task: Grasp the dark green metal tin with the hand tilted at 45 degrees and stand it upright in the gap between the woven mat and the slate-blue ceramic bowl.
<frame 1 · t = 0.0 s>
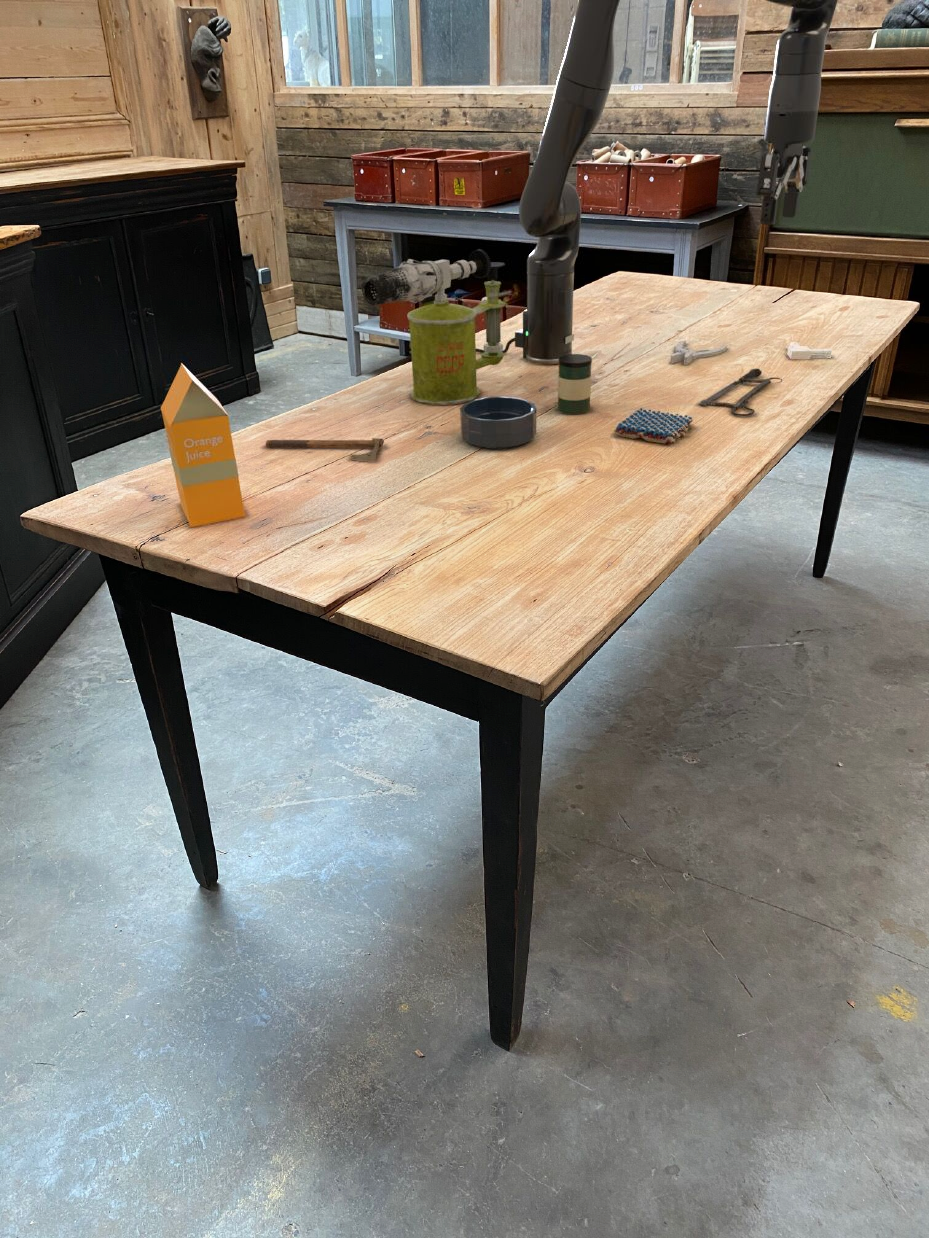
hand: (778, 220, 153), 29 cm above the table, tool pointing down, fingers open, 8 cm apart
tomahawk: (331, 449, 153), on the table
orange juice: (212, 511, 133), on the table
corner connector: (807, 354, 190), on the table
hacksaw: (750, 396, 169), on the table
blowtorch: (445, 395, 176), on the table
slate bowl: (498, 437, 155), on the table
pliers: (691, 356, 192), on the table
green tin: (573, 409, 166), on the table
woven mat: (654, 433, 154), on the table
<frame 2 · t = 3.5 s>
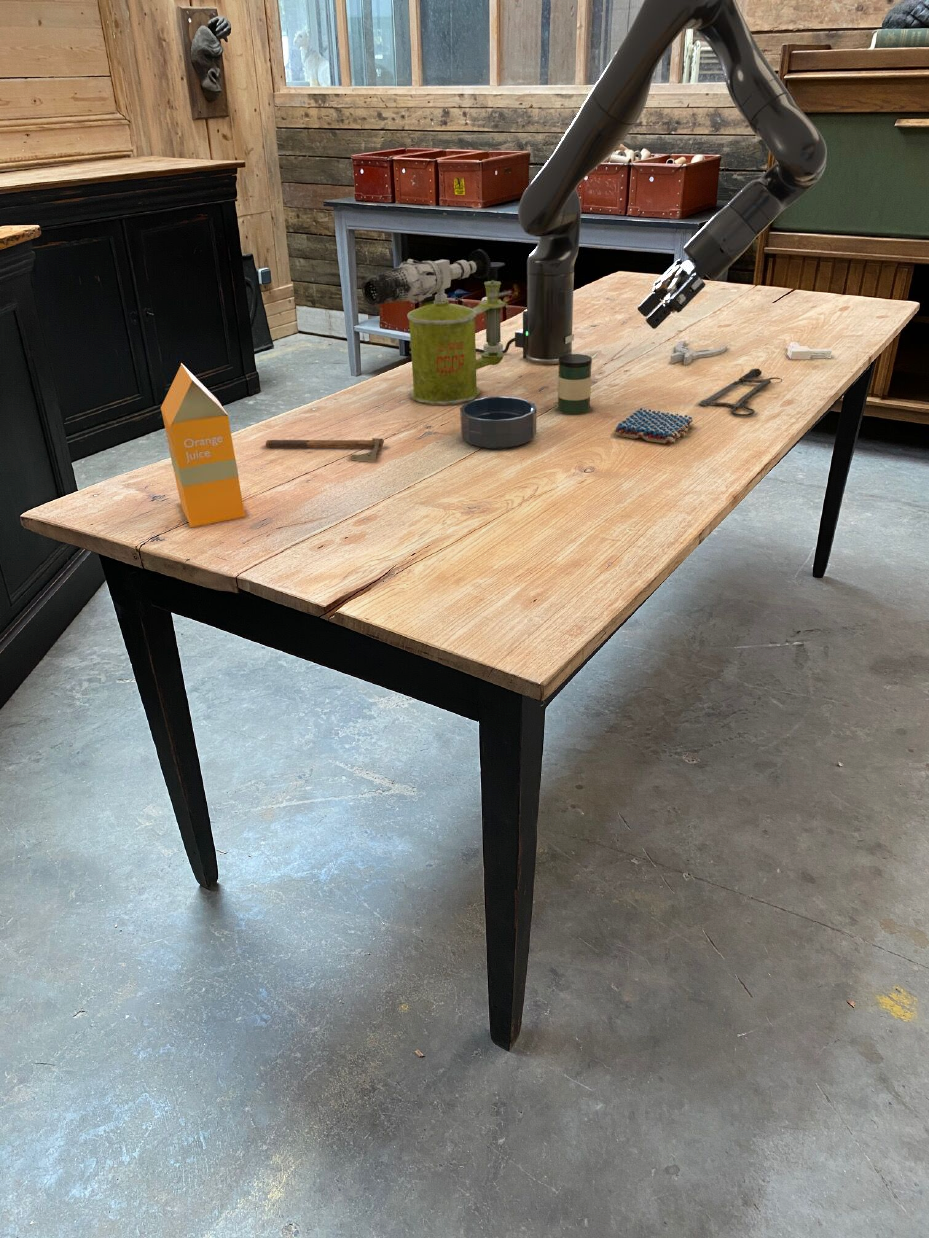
hand: (645, 319, 158), 15 cm above the table, tool tilted 45°, fingers open, 8 cm apart
nothing on the table moved.
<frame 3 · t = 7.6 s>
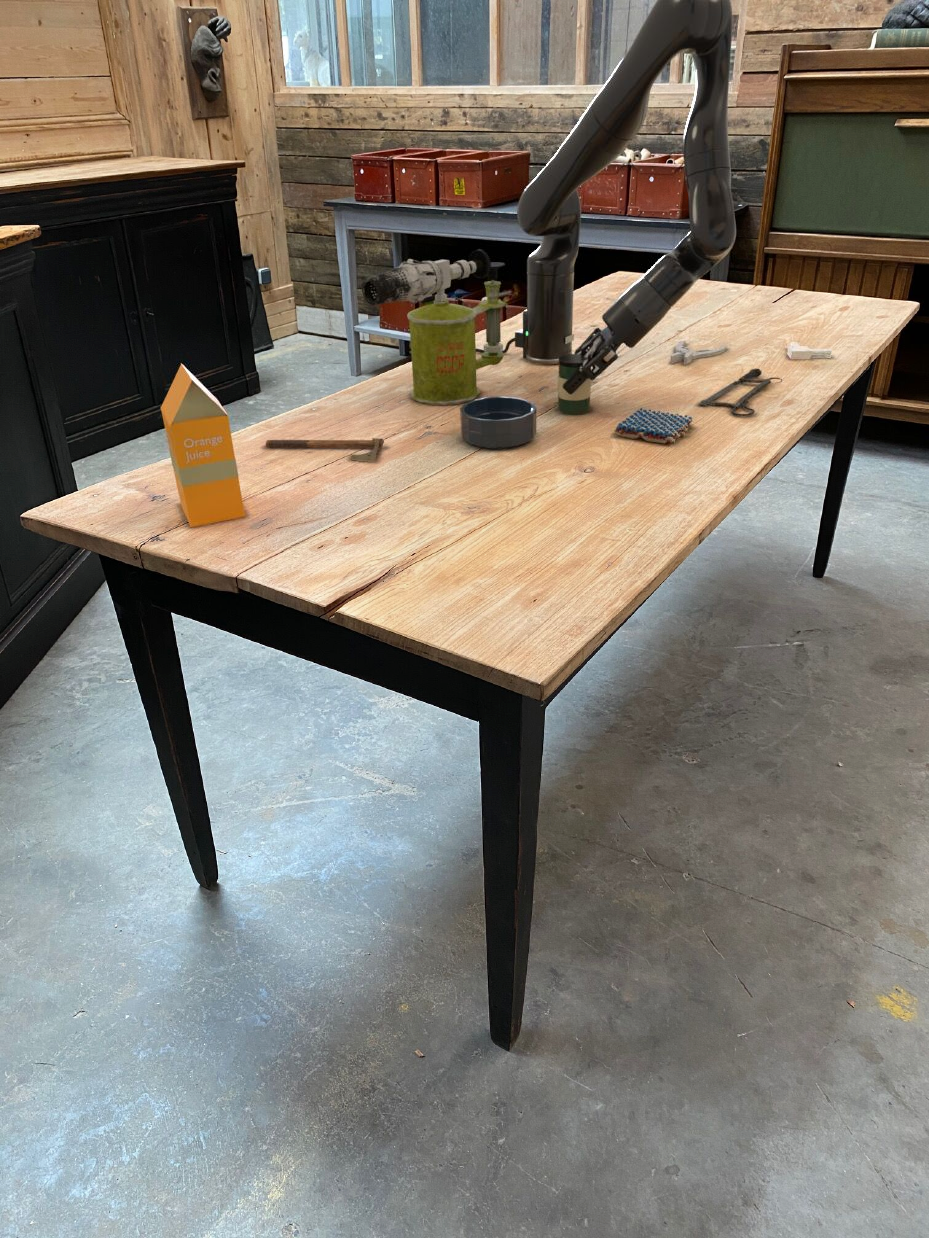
hand: (564, 385, 163), 4 cm above the table, tool tilted 45°, fingers closed on green tin, 5 cm apart
green tin: (573, 409, 166), on the table, touching gripper
everything else where it was.
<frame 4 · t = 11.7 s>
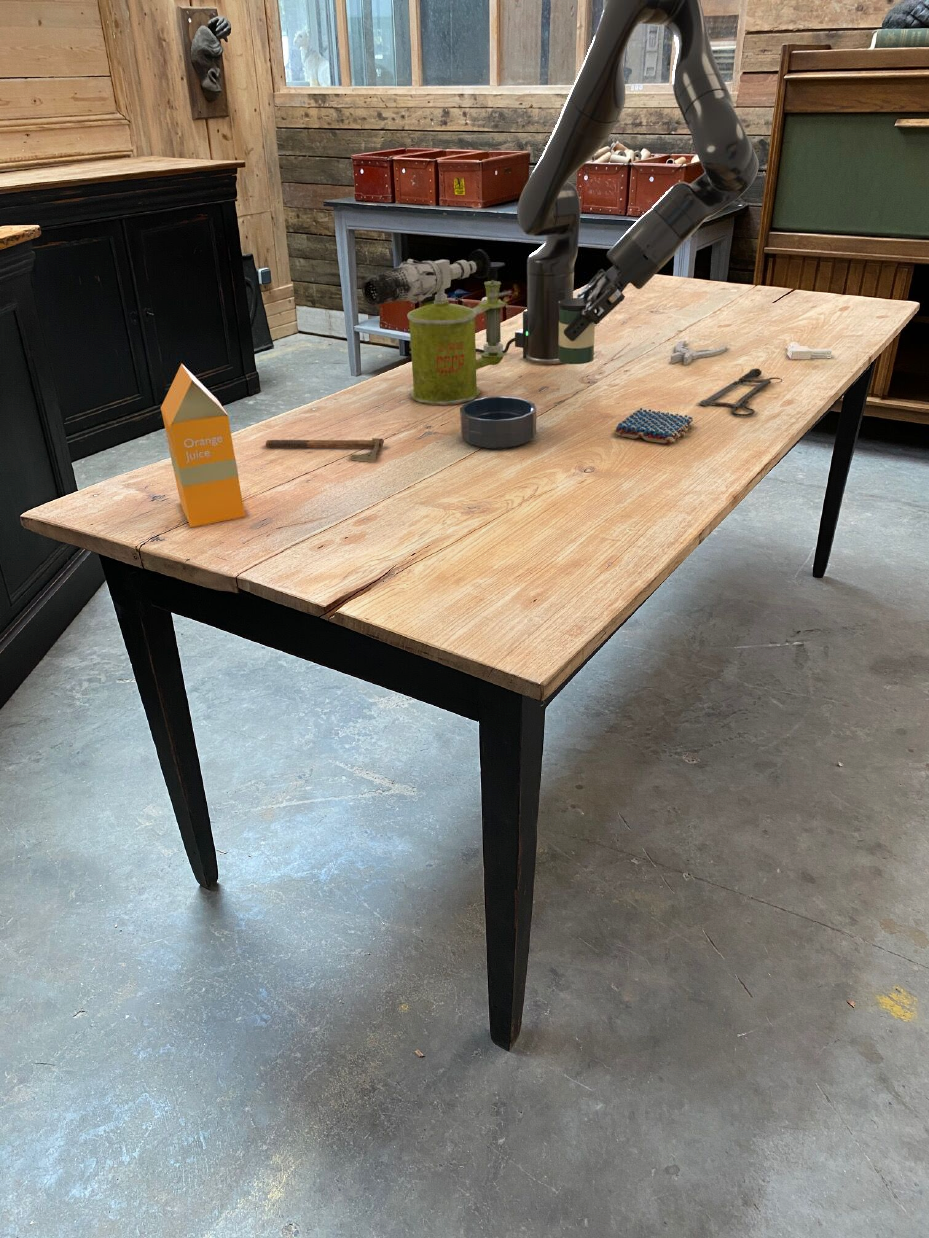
hand: (565, 331, 149), 16 cm above the table, tool tilted 45°, fingers closed on green tin, 5 cm apart
green tin: (576, 359, 151), point 12 cm above the table, touching gripper
everything else where it was.
when the fingers open (4 cm above the table, at t = 15.7 s): green tin stays where it is, on the table.
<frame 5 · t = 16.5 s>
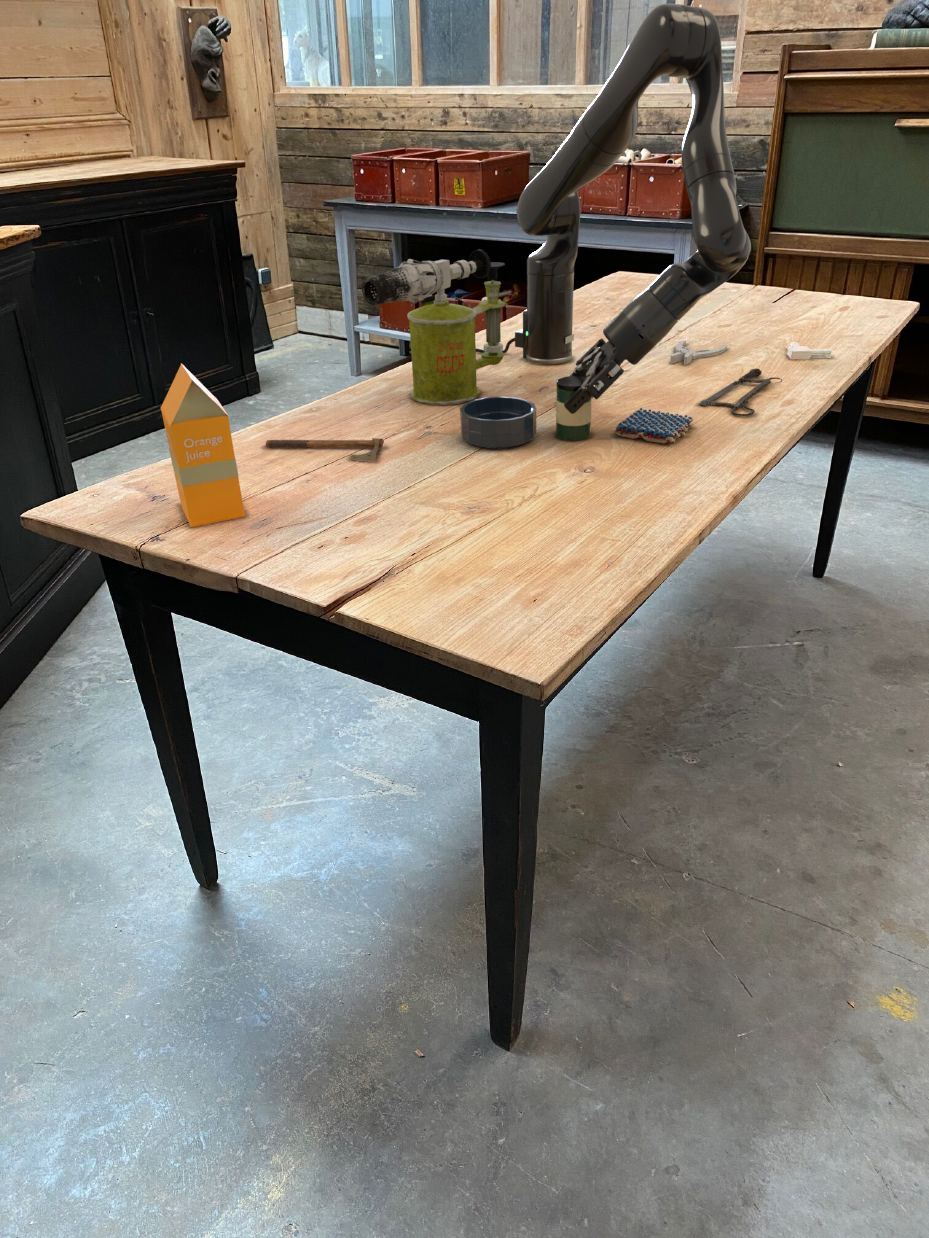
hand: (565, 401, 152), 6 cm above the table, tool tilted 45°, fingers open, 8 cm apart
green tin: (573, 435, 154), on the table
everything else where it was.
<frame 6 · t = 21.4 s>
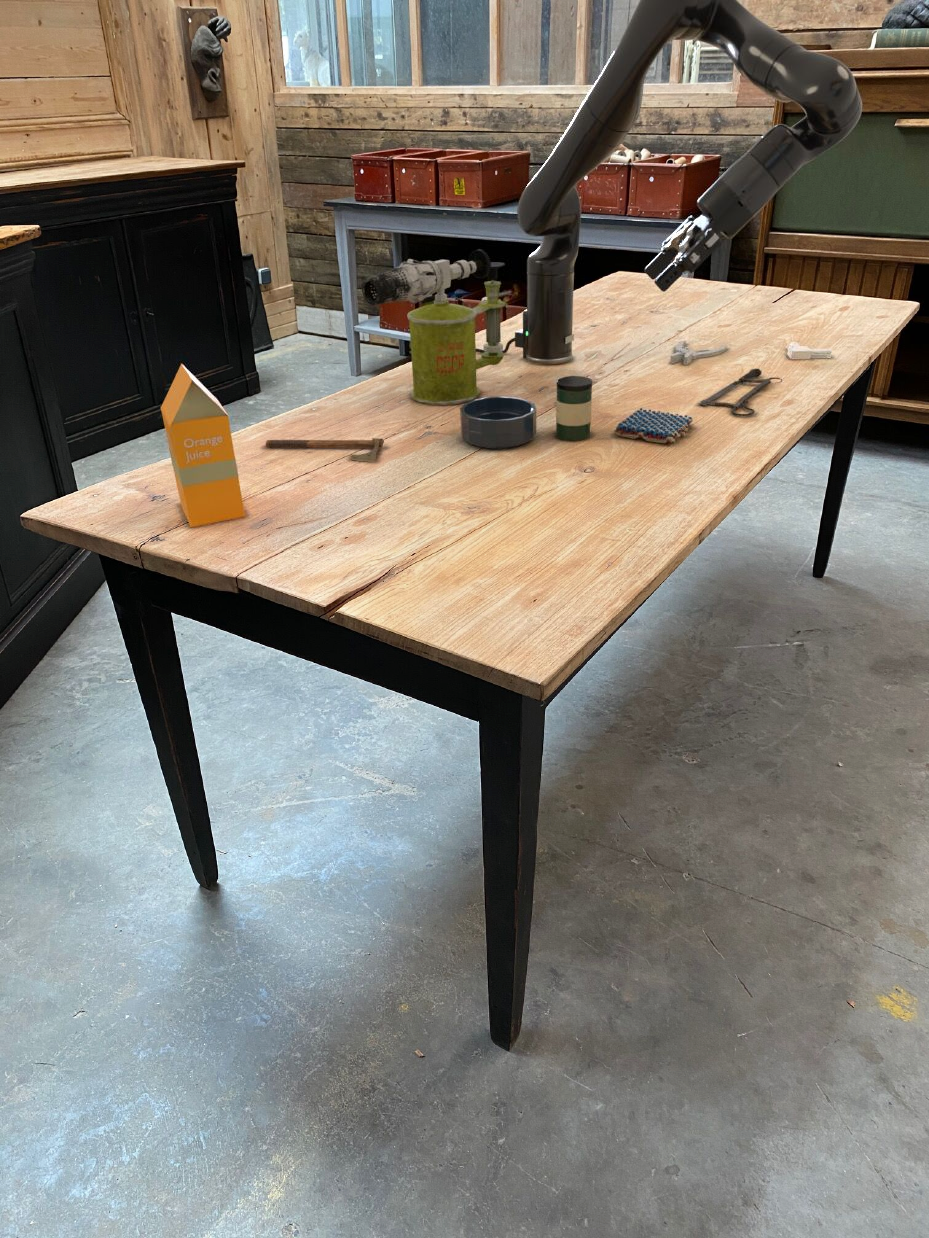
hand: (653, 281, 142), 24 cm above the table, tool tilted 45°, fingers open, 8 cm apart
nothing on the table moved.
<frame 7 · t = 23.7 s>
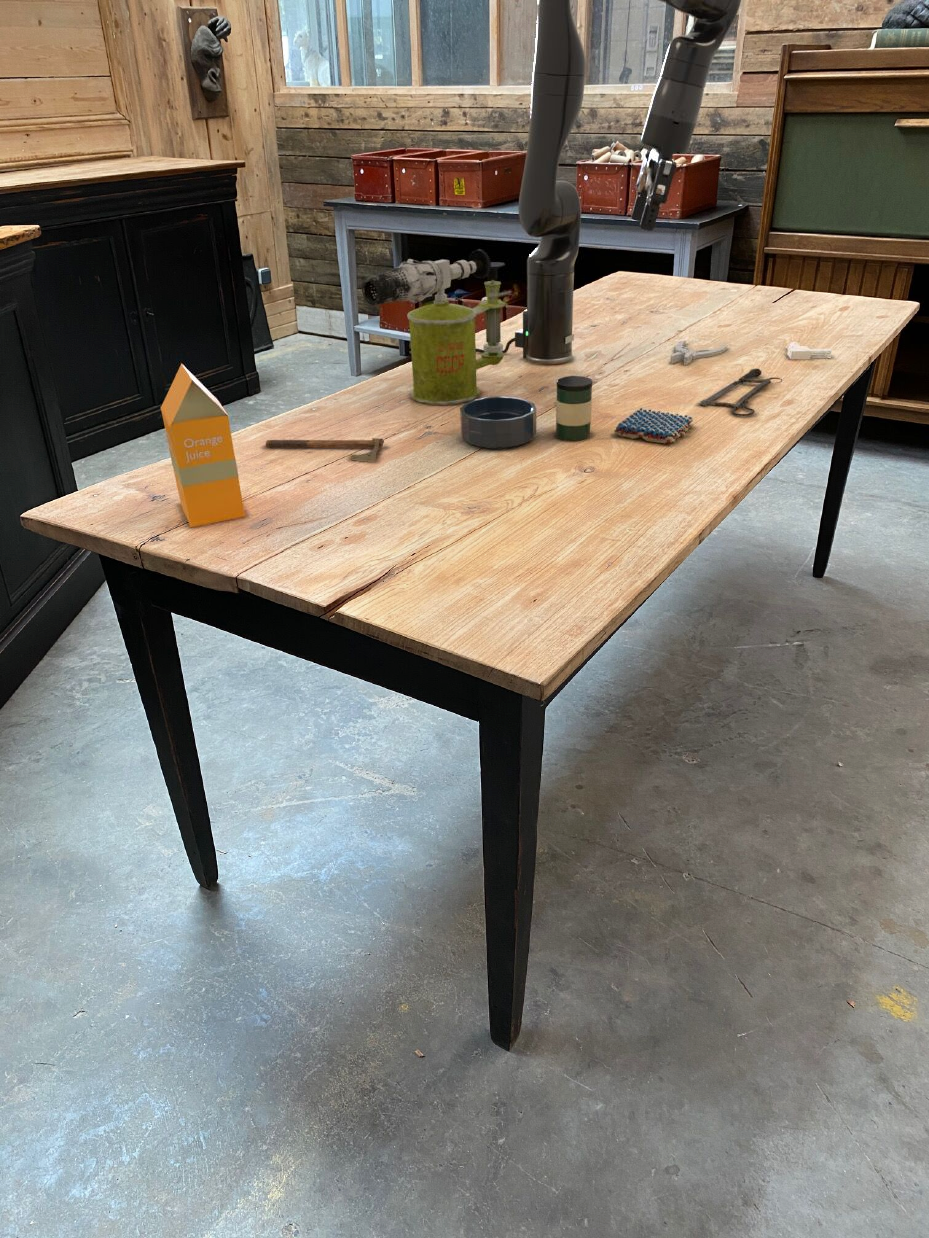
hand: (641, 225, 154), 29 cm above the table, tool pointing down, fingers open, 8 cm apart
nothing on the table moved.
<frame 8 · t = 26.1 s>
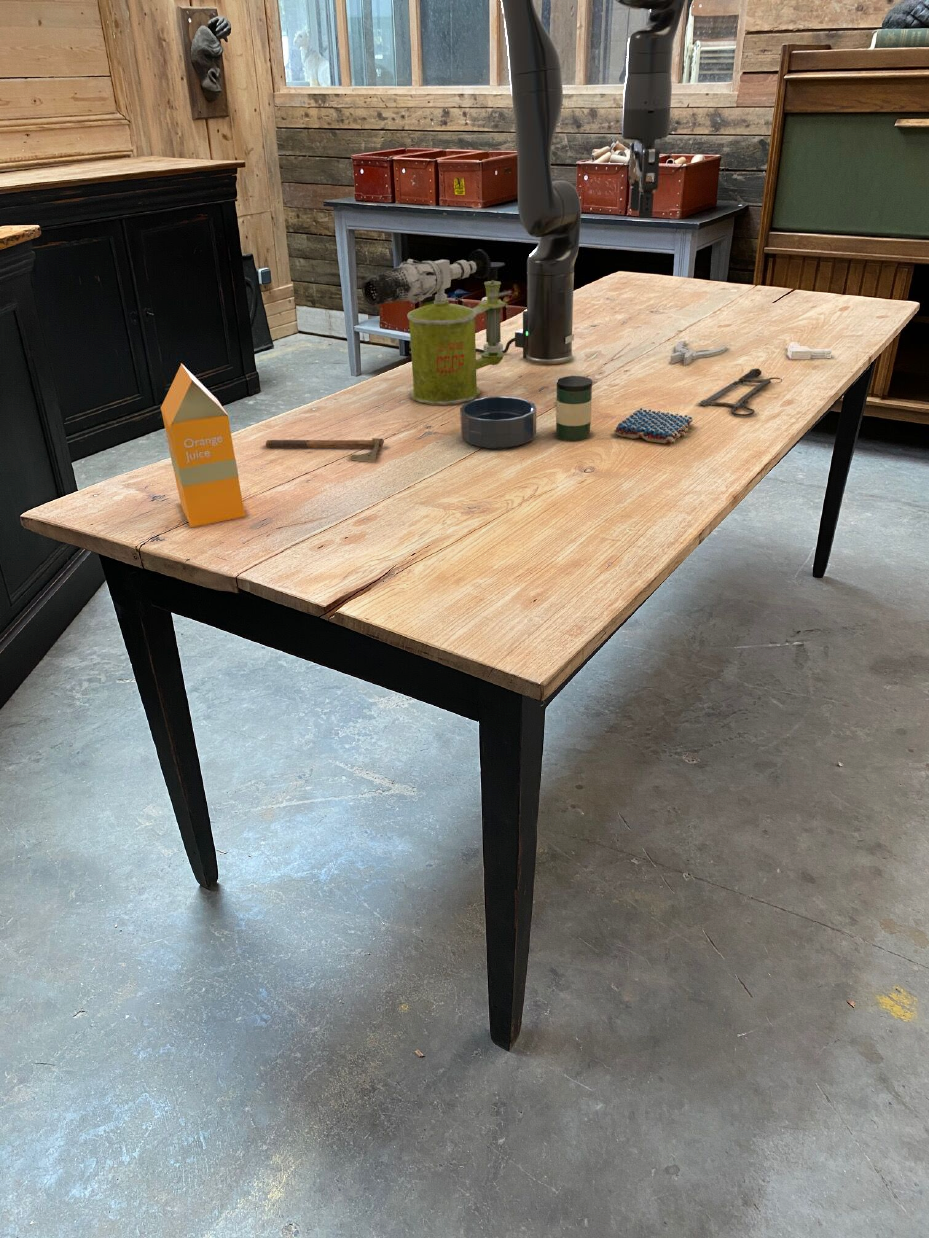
hand: (640, 214, 159), 30 cm above the table, tool pointing down, fingers open, 8 cm apart
nothing on the table moved.
at the end: green tin 0.1 cm from the target spot, on the table; green tin tilted 0°; the gripper is holding nothing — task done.
